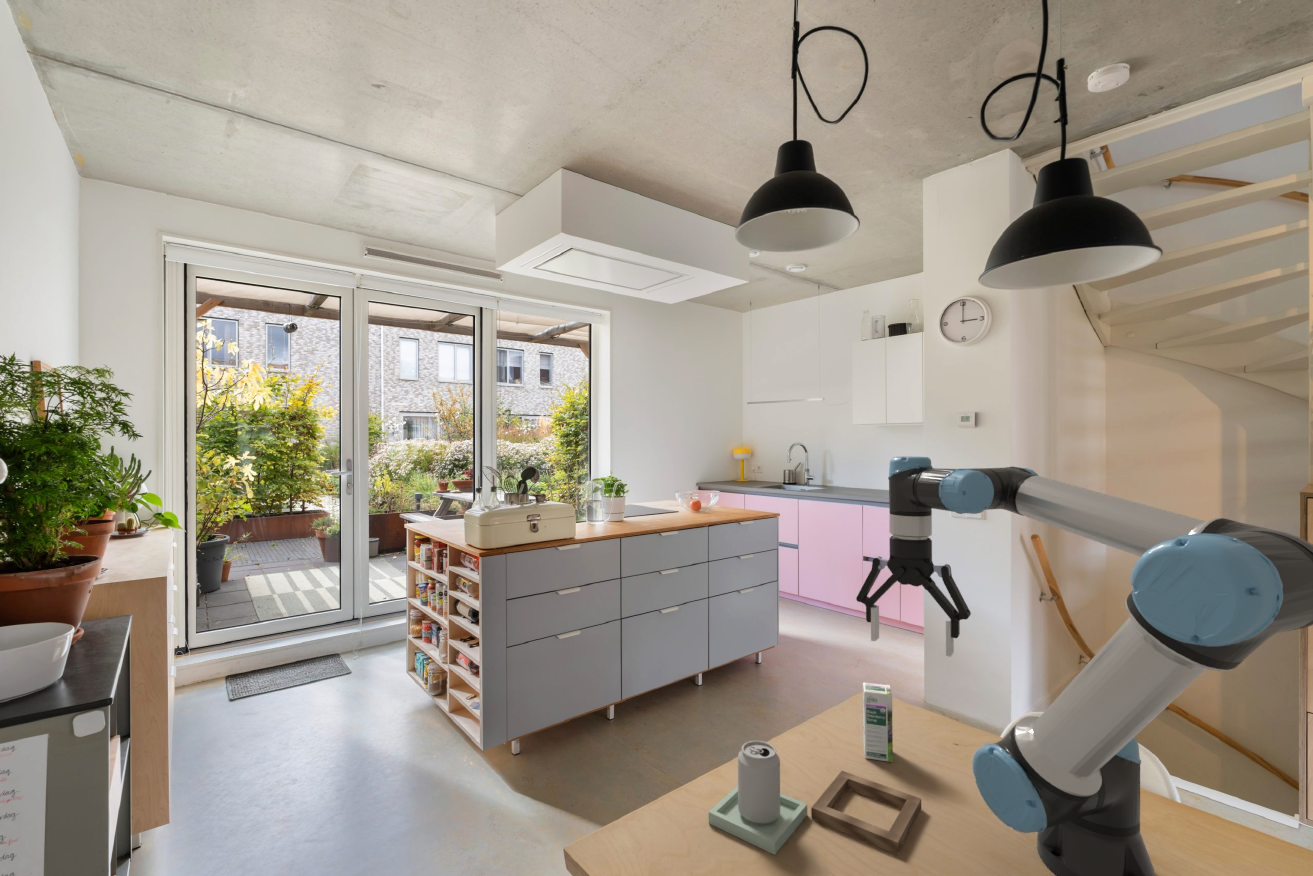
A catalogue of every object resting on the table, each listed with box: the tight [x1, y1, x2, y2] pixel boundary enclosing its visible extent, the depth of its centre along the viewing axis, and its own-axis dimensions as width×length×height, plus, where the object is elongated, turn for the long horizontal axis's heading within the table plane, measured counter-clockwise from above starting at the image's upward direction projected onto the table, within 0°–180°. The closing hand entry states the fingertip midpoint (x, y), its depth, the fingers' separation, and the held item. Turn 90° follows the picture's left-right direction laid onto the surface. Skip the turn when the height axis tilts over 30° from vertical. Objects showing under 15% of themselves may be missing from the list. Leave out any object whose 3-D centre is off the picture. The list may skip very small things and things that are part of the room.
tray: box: [708, 784, 808, 856], centre depth 105 cm, size 13×13×2 cm
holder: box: [810, 770, 922, 855], centre depth 107 cm, size 15×15×2 cm
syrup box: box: [862, 682, 894, 763], centre depth 127 cm, size 6×6×14 cm
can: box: [737, 740, 781, 825], centre depth 105 cm, size 8×8×12 cm
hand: (911, 646), depth 112 cm, fingers open, 13 cm apart
